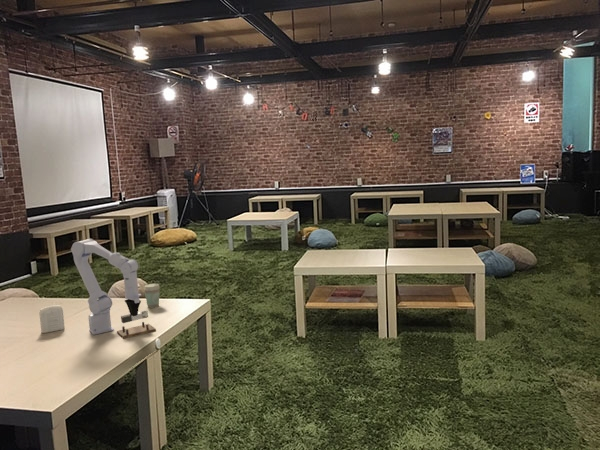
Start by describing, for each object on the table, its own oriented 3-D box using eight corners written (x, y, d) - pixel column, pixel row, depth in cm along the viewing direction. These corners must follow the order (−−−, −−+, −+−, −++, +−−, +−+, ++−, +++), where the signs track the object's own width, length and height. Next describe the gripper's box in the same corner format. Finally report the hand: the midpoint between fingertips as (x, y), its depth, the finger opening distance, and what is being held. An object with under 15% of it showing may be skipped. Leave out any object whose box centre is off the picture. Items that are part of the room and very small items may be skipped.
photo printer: (64, 327, 249) (61, 302, 248) (65, 329, 246) (62, 304, 244) (40, 331, 244) (37, 307, 242) (42, 334, 240) (39, 309, 238)
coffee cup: (151, 309, 272) (149, 288, 270) (142, 307, 277) (140, 286, 275) (164, 305, 278) (162, 284, 277) (155, 303, 284) (153, 282, 282)
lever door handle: (123, 323, 232) (122, 317, 231) (121, 321, 234) (120, 316, 234) (149, 317, 238) (148, 311, 238) (146, 315, 241) (146, 310, 241)
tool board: (123, 338, 229) (122, 332, 228) (117, 332, 237) (116, 326, 237) (155, 330, 237) (155, 324, 237) (148, 325, 246) (148, 319, 245)
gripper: (145, 287, 230) (147, 316, 232) (135, 282, 242) (137, 309, 244) (129, 290, 226) (132, 320, 228) (119, 284, 238) (122, 312, 240)
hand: (133, 314), depth 236 cm, fingers closed on lever door handle, 3 cm apart
